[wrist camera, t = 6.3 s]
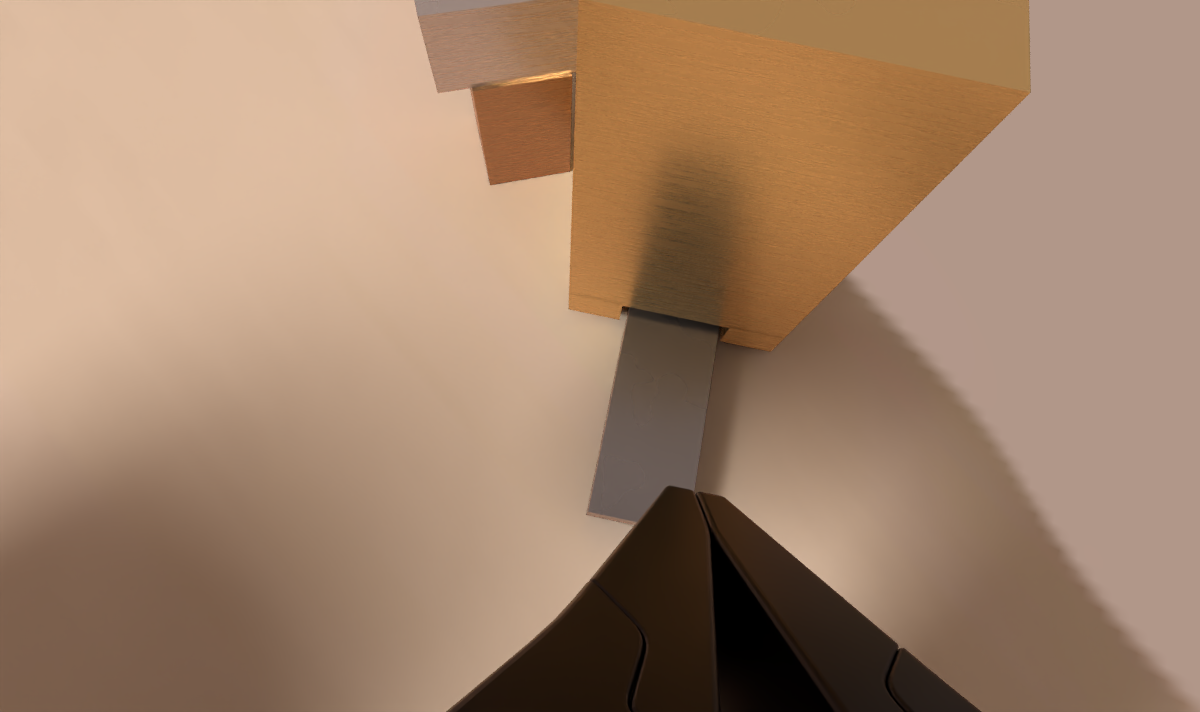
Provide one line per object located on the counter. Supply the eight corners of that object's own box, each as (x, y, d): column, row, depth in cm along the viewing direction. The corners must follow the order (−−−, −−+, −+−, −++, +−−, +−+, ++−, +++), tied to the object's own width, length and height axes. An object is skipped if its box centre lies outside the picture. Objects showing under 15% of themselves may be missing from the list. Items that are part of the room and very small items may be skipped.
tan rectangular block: (770, 351, 17) (1029, 92, 8) (568, 308, 17) (578, -3, 8) (789, 195, 19) (1025, -182, 9) (604, 156, 19) (649, -259, 9)
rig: (680, 534, 16) (749, 519, 10) (336, 461, 16) (208, 404, 10) (747, 105, 20) (823, -80, 14) (475, 49, 20) (440, -159, 14)
